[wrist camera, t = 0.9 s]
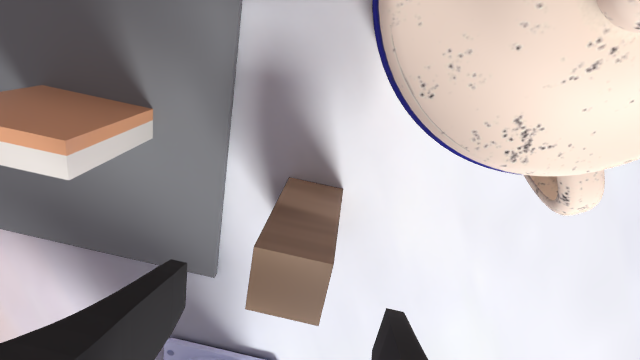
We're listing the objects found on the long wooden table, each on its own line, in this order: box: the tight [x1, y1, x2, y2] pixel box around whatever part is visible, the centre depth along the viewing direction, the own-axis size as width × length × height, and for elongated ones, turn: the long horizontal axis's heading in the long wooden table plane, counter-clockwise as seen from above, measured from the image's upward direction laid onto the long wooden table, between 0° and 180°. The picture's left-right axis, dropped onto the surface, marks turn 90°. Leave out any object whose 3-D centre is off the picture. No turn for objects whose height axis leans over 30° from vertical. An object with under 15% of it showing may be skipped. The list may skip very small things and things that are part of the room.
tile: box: [0, 85, 153, 180], centre depth 16 cm, size 2×6×6 cm, turn 79°
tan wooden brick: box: [245, 177, 343, 326], centre depth 17 cm, size 3×3×7 cm
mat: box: [0, 0, 242, 278], centre depth 20 cm, size 16×14×1 cm
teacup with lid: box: [372, 0, 640, 216], centre depth 11 cm, size 12×9×12 cm
